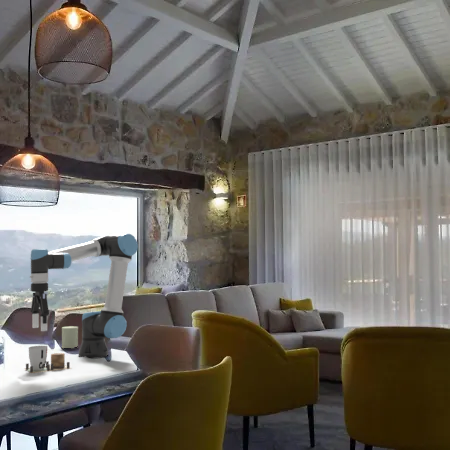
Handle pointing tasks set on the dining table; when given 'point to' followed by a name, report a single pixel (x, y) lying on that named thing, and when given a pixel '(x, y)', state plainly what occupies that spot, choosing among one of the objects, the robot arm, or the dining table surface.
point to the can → (69, 337)
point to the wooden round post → (58, 360)
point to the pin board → (46, 368)
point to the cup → (38, 357)
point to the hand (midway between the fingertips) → (39, 329)
